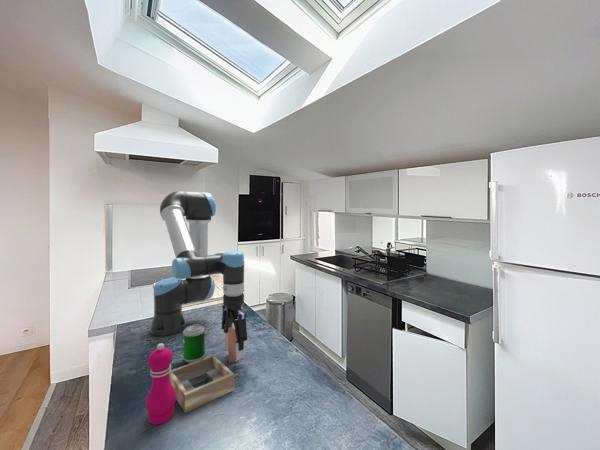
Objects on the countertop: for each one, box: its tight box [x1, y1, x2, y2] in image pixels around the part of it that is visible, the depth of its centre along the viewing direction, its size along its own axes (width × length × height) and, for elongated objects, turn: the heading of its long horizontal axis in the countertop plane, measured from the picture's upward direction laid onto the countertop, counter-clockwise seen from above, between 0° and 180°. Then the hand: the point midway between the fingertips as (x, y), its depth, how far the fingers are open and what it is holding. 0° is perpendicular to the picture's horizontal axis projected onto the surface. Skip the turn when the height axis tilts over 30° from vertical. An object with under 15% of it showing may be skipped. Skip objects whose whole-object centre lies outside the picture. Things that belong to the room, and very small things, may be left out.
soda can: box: [182, 323, 206, 364], centre depth 103 cm, size 8×8×12 cm
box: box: [169, 354, 235, 413], centre depth 86 cm, size 15×15×5 cm
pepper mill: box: [145, 342, 177, 425], centre depth 74 cm, size 7×7×20 cm
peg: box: [227, 325, 240, 363], centre depth 103 cm, size 4×4×12 cm
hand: (233, 353), depth 103 cm, fingers open, 8 cm apart
